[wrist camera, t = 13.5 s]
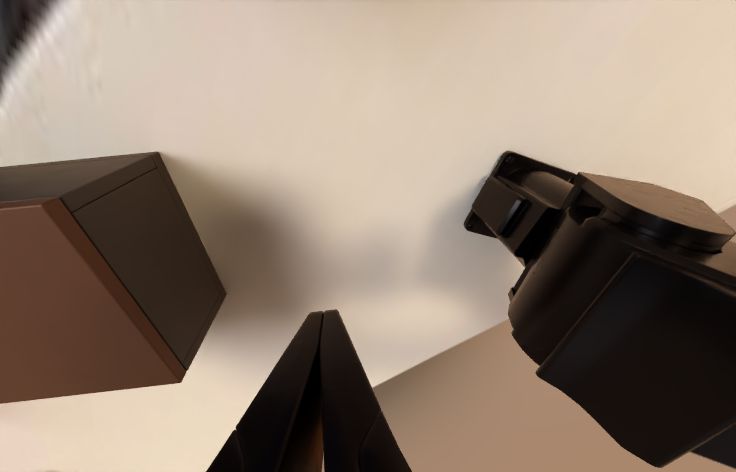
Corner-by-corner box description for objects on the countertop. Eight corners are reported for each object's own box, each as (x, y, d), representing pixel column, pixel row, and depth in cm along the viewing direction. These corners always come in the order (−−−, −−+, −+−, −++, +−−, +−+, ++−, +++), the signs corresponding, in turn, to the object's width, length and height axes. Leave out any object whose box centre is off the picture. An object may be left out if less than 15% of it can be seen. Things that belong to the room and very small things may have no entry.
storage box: (76, 311, 24) (-15, 394, 18) (-51, 172, 17) (-267, 228, 11) (226, 294, 24) (187, 370, 18) (158, 151, 18) (60, 195, 12)
